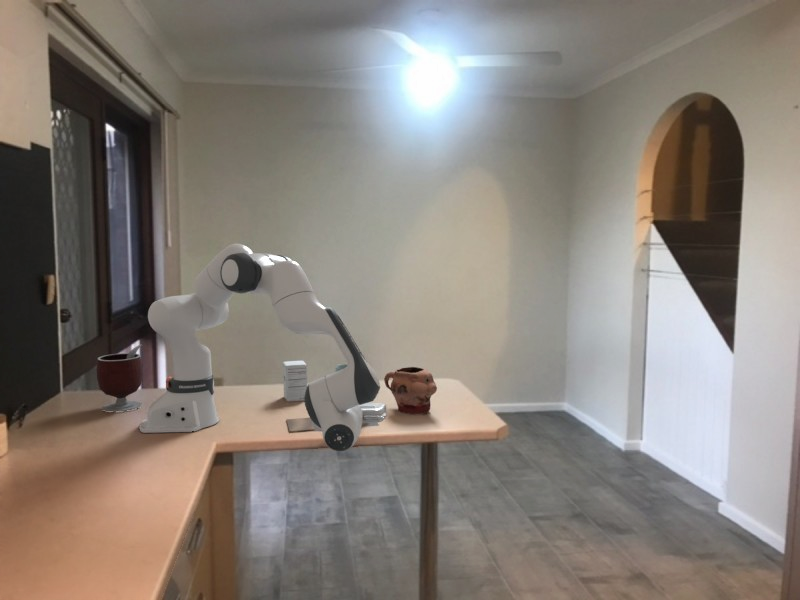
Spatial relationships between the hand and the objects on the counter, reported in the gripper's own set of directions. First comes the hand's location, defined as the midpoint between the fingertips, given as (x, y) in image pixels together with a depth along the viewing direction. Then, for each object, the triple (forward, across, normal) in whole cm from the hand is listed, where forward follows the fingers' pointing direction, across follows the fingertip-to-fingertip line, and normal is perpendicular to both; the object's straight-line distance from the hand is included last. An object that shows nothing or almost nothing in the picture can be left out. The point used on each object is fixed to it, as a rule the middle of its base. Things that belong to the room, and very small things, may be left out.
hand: (351, 404), depth 177 cm
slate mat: (+12, 0, +9) cm, 15 cm away
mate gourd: (+30, +78, +9) cm, 84 cm away
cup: (+46, +6, +9) cm, 48 cm away
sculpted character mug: (+24, -16, +9) cm, 31 cm away
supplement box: (+41, +23, +9) cm, 48 cm away
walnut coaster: (+8, +13, +9) cm, 18 cm away
